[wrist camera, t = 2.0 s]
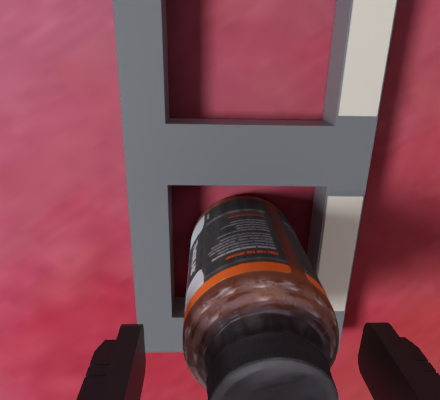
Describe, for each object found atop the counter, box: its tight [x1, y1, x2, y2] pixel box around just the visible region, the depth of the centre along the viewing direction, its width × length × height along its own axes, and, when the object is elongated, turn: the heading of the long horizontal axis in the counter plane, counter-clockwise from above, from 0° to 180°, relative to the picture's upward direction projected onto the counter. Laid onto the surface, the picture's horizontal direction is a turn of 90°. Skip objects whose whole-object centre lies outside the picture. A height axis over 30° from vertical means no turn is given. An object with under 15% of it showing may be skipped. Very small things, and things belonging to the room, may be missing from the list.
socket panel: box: [113, 0, 398, 352], centre depth 18 cm, size 12×24×2 cm, turn 179°
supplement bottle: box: [183, 195, 339, 400], centre depth 16 cm, size 6×6×11 cm
